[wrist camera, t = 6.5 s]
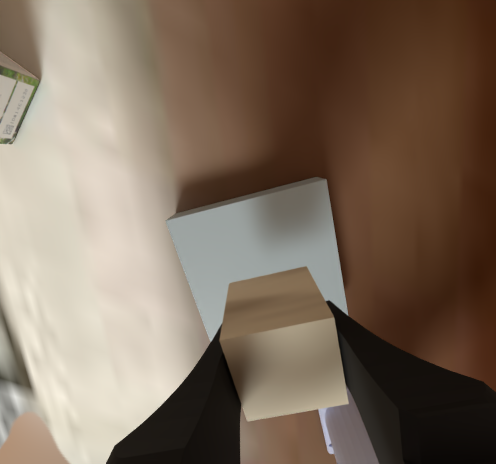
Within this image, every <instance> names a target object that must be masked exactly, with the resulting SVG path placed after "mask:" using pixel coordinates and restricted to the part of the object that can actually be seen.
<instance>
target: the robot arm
mask: <svg viewBox="0 0 496 464" xmlns="http://www.w3.org/2000/svg"><path fill="white" fill-rule="evenodd" d="M326 303H327V305H328V307H329V309H330V310H331V312H332V314H333V316H334V319H335V325H336V331H337V337H338V343H339V349H340V355H341V361H342V366H343V372H344V378H345V383H346V385H347V386H346V390H347V396H348V402H349V404H345V405H339V406H334V407H328V408H322V409H318V410H319V415H320V419H321V424H322V428H323V432H324V437H325V441H326V446H327V450H328V452H329V453H330V454H335V458H336V461H337V464H496V392H495V391H494V390H492V389H491V388H490V387H489V386H488V385H486V384H485V383H484V382H482V381H479V380H476V379H473V378H470V377H467V376H464V375H461V374H458V373H455V372H452V371H450V370H447V369H444V368H442V367H439V366H437V365H434V364H432V363H429V362H427V361H424V360H422V359H420V358H418V357H415V356H413V355H411V354H409V353H407V352H405V351H403V350H401V349H399V348H397V347H395V346H393V345H391V344H390V343H388V342H386V341H384V340H382V339H381V338H379V337H378V336H376V335H374V334H373V333H371V332H370V331H368V330H367V329H365V328H364V327H363V326H361V325H360V324H358V323H357V322H356V321H354V320H353V319H352V318H350V317H349V316H348V315H347V314H345V313H344V312H343V311H342V310H341V309H339V308H338V307H337V306H336V305H335V304H334V303H333V302H331V301H330V300H328V301H326ZM221 328H222V324H221V326H220V327H219V329H218V331H217V333H216V334H215V336H214V338H213V339H212V341H211V343H210V344H209V346H208V348H207V349H206V351H205V352H204V354H203V356H202V357H201V359H200V360H199V361H198V363H197V364H196V366H195V367H194V369H193V370H192V371H191V373H190V374H189V375H188V376H187V378H186V379H185V380H184V381H183V383H182V384H181V385H180V386H179V387H178V388H177V389H176V391H175V392H174V393H173V394H172V395H171V396H170V397H169V398H168V399H167V400H166V401H165V402H164V403H163V404H162V405H161V406H160V407H159V408H158V409H157V410H156V411H155V412H154V413H153V414H152V415H151V416H150V417H149V418H148V419H146V420H145V421H144V422H143V423H142V424H141V425H140V426H139V427H137V428H136V429H135V430H134V431H132V432H131V433H130V434H129V435H128V436H126V437H125V438H124V439H123V440H121V441H120V442H119V443H118V444H116V445H115V446H114V448H113V450H112V452H111V454H110V456H109V458H108V460H107V462H106V464H240V412H241V402H240V399H239V396H238V393H237V390H236V387H235V384H234V381H233V378H232V376H231V373H230V370H229V367H228V364H227V361H226V358H225V355H224V352H223V350H222V347H221V344H220V341H219V340H220V334H221Z"/></svg>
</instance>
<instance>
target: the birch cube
mask: <svg viewBox="0 0 496 464" xmlns="http://www.w3.org/2000/svg"><path fill="white" fill-rule="evenodd" d="M219 341H220V344H221V347H222V350H223V352H224V355H225V358H226V361H227V364H228V367H229V370H230V373H231V376H232V378H233V381H234V384H235V387H236V390H237V393H238V396H239V399H240V402H241V405H242V407H243V410H244V413H245V416H246V419H247V421H253V420H258V419H264V418H270V417H276V416H282V415H287V414H293V413H299V412H305V411H310V410H316V409H322V408H328V407H334V406H339V405H345V404H349V402H348V396H347V390H346V384H345V378H344V372H343V366H342V361H341V355H340V349H339V343H338V337H337V331H336V325H335V319H334V316H333V314H332V312H331V310H330V309H329V307H328V305H327V303H326V301H325V299H324V297H323V296H322V294H321V292H320V290H319V288H318V286H317V285H316V283H315V281H314V279H313V277H312V275H311V273H310V272H309V270H308V268H307V266H305V267H300V268H296V269H291V270H286V271H282V272H277V273H273V274H268V275H264V276H259V277H255V278H250V279H246V280H241V281H237V282H232V283H229V287H228V293H227V298H226V304H225V310H224V316H223V322H222V328H221V334H220V340H219Z"/></svg>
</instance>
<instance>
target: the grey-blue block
mask: <svg viewBox="0 0 496 464" xmlns="http://www.w3.org/2000/svg"><path fill="white" fill-rule="evenodd" d="M166 224H167V226H168V229H169V232H170V235H171V237H172V240H173V243H174V245H175V248H176V251H177V253H178V256H179V259H180V261H181V264H182V267H183V269H184V272H185V275H186V278H187V280H188V283H189V286H190V288H191V291H192V294H193V296H194V299H195V302H196V304H197V307H198V310H199V312H200V315H201V318H202V321H203V323H204V326H205V329H206V331H207V334H208V337H209V339H210V342H211V341H212V339H213V338H214V336H215V334H216V333H217V331H218V329H219V327H220V326H221V324H222V322H223V316H224V310H225V304H226V298H227V293H228V287H229V283H232V282H237V281H241V280H246V279H250V278H255V277H259V276H264V275H268V274H273V273H277V272H282V271H286V270H291V269H296V268H300V267H305V266H307V268H308V270H309V272H310V273H311V275H312V277H313V279H314V281H315V283H316V285H317V286H318V288H319V290H320V292H321V294H322V296H323V297H324V299H325V301H328V300H330V301H331V302H333V303H334V304H335V305H336V306H337V307H338V308H339V309H341V310H342V311H343V312H344V313H345V314H347V315H348V311H347V305H346V299H345V292H344V286H343V280H342V273H341V267H340V261H339V255H338V248H337V242H336V236H335V230H334V223H333V217H332V211H331V205H330V198H329V192H328V186H327V179H323V178H319V177H314V178H310V179H306V180H303V181H299V182H295V183H291V184H287V185H283V186H279V187H276V188H272V189H268V190H264V191H260V192H256V193H252V194H249V195H245V196H241V197H237V198H233V199H229V200H226V201H222V202H218V203H214V204H210V205H206V206H202V207H199V208H195V209H191V210H187V211H183V212H179V213H176V214H174V215H173V216H171V217H170V218H169V219H167V220H166Z"/></svg>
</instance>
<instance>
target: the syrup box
mask: <svg viewBox="0 0 496 464" xmlns="http://www.w3.org/2000/svg"><path fill="white" fill-rule="evenodd" d="M38 84H39V79H38V78H37V77H35V76H34V75H33V74H31V73H30V72H28V71H27V70H26V69H24V68H23V67H21V66H20V65H19V64H17V63H16V62H15V61H13V60H12V59H10V58H9V57H8V56H6V55H5V54H4V53H2V52H1V51H0V144H12V143H13V141H14V139H15V137H16V135H17V132H18V129H19V127H20V125H21V122H22V120H23V118H24V116H25V114H26V111H27V109H28V107H29V104H30V102H31V100H32V98H33V96H34V93H35V91H36V89H37V86H38Z"/></svg>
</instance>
